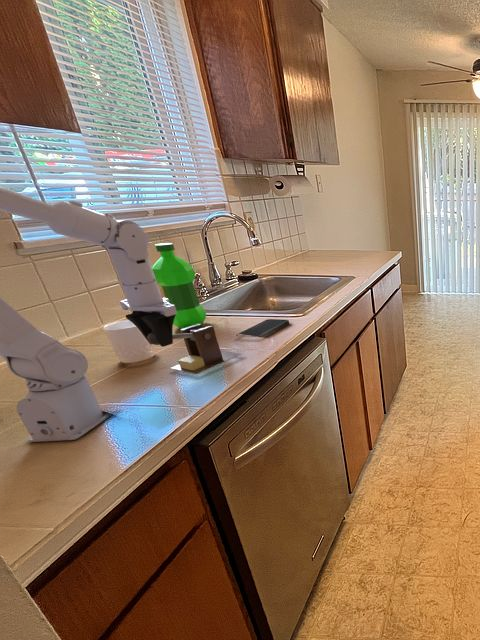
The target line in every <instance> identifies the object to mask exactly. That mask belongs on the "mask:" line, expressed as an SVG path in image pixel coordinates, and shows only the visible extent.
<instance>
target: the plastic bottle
mask: <svg viewBox="0 0 480 640" xmlns="http://www.w3.org/2000/svg"><path fill="white" fill-rule="evenodd" d="M154 246H155V249H156V252H158V253H159V254H160V258H159V259H157V260H156V262H155V263H154V264H153V265H152V266H151V267H152V270H153V272H154V275H155V278H156V281H157V284H158V286H160V287H161V288H162V289H161V290H162V291H163V294H164V298H168V299H169V302H168V303H169V304H172V305H175V308H176V311H177V314H176V316H175V318H174V321H173V326H175V327H176V328H180V329H184V328H187V327H190V326H193V325H196V324H201V325H202V324H203V323H204V322H205V321H206V319H207V312H206V310H205V308H204V307H203V305H201V304H200V301H199V297H198V295H197V292H196V289H195V286H194V283H193V282H194V280H195V279H196V272H195V269H194V267H193V266H192V265H191V264H190V263H189V262H188V261H186V260H184V259H183V258H181V257H178V256H177V255H175V253H174V251H175V250H176V248H175V246H174V243H173V242H172V243H171V242H164V243H155V244H154Z"/></svg>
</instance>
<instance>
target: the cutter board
mask: <svg viewBox="0 0 480 640" xmlns="http://www.w3.org/2000/svg"><path fill="white" fill-rule="evenodd" d="M195 329H198V330H195ZM190 330H195V331H193V332H192V333H193V336H194V339H195V341H194V340H190V338H183V339H182V340H183V341H184V345H185V348H186V350H187V354H188V356H193V355H194V356H199V357H201V358H203V360H204V363H205V366H203V367H200V368H198V369H196V370H189V369H184V368H180V365H179V364H177V365H174V366H172V367H171V369H173V370H176V371H181V372H186V373H191V374H195V375H196V374H197V375H198V374H200V373H202V372H205V371H207V370H209V369H211V368H213V367H216V366H218V365H221V364H223V363H225V362H227V361H229V360H232V359H235V358H237V357H239V356H241V355H242V353H239V352H234V351H228V350H223V349H221V348H220V344H219V342H218V339H217V334H216V332H215V328H214V326H213V325H208V326H205V327H203V326H202V324H196V325H193V326H190V327H187V328H184V329H182V328H180V334H182V333H190Z"/></svg>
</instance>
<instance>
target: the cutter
mask: <svg viewBox="0 0 480 640" xmlns="http://www.w3.org/2000/svg"><path fill="white" fill-rule="evenodd" d="M195 330H198V329H195ZM195 330H190V333H172V335H173V340H179V339H181V340H184V339H183V338H190V340H194V341H195V339H194V336H193V333H192V332H193V331H195ZM147 338H148V341H149V342H150V343H152V345H153V346H154V345H155V346H161V345H160V344H159V343H158V341H157V339H156V337H155V335H154V333H153V331H151V332H150V333H149V334H148V336H147Z"/></svg>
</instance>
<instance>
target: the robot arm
mask: <svg viewBox="0 0 480 640" xmlns="http://www.w3.org/2000/svg"><path fill="white" fill-rule="evenodd" d="M83 206H84V204H83V203H82V202H79V201H76V200H68V202H67V201H65V200H64V201H63V200H62V201H58V202H55V203H53V204H52V203H49V202H46V201H43V200H40V199H37V198H34V197H31V196H28V195H25V194H23V193H20V192H17V191H14V190H11V189H9V188H7V187H4V186H1V185H0V212H2V213H6V214H10V215H14V216H17V217H21V218H25V219H30V220H34V221H37V222H42V223H45V224H46V225H47V226H48V227H49V228H50V229H51V231H52V232H53V233H55V234H57V235H60V236H65V237H68V238H72V239H76V240H80V241H83V242H87V243H90V244H95V245H97V246H99V247H100V248H102V249H103V250H104V251H105V250H106V251H107V252H108V255H109V258H110V260H111V263H112V265H113V267H114V270H115V273H116V276H117V278H118V280H119V283H120V286H121V289H122V291H123V294H124V297H125V299H123V300H120V301H119V304H120V306H121V309H122V310H123V311H132V312H131V313H128V314H125V319H126V320H130V321H131V322H132V323H133V324H134V325H135V326H136V327H137V328H138V329H139V330H140V331H141V333H142V334H143V335H144V337H145V338H146V340H147V341H148V338H147V336H148V334H149V333H150V332H151V331H153V333H154V335H155V337H156V339H157V341H158V343H159V344H160V345H159V346H161V347H163V348H164V347H166V346H167V347H168V346H170V345H173V344H174V342H173V340H174V339H173V335H172V334H173V327H174V325H173V321H174V318H175V316H176V314H177V311H176V308H175V305H172V304H169V303H168V302H169V299H168V298H166V297H163V296H162V293H161V290H160V286H159V284H157V281H156V278H155V275H154V272H153V270H152V267H153V266H152V264H151V261H150V258H149V251H148V246H149V243H150V235H149V233H146V232H145V231H144V229H143V228H142V227H141V226H140V225H139V224H138V223H136V222H134V221H131V220H123V219H122V220H121V219H119V220H118V219H116V218H115V217H114V214H111V213H109V212H103V213H101V212H98V211H95V210H92V209H89V208H86V207H83ZM148 342H149V341H148ZM149 343H150V342H149ZM150 344H152V343H150ZM152 345H153V344H152ZM0 356H1V357H2V358H3V359H4V360H5V362H6V365H7V367H8V369H9V371H10V372H11V373H12V374H13V375H14V376H17V377H18V378H21V379H25V382H26V388H27V389H28V392H27V394H26V395H25V396H24V397H23V398H22V399H20V400H19V401H18V402H17V404H16V413H17V414H18V417H19V418H20V419H21V421H22V423H23V425H24V427H25V429H26V430H27V432H28V433H29V435H30V438H28V441H29V443H37V442H56V441H57V442H58V441H74V440H78V439H79V438H81V437H82V436H84V435H85V434H87V433H88V432H90V431H91V430H92V429H94V428H96V427H98V426H99V425H100V424H101V423H103V422H104V421H106V420H107V419H108V418H111V416H113V415H114V413H111V412H107V411H104V410H102V407H101V406H100V403H99V401H98V399H97V397H96V395H95V393H94V391H93V389H92V387H91V384H90V383H89V380H88V378H87V377H86V373H87V371H88V368H89V363H88V359H87V357H86V356H85V354H84V353H82V352H81V351H79V350H78V349H76V348H75V349H74V348H71V347H68V346H66V345H64V344H63V343H62V342H61V341H59V340H58V339H57V338H55V337H53V336H50V335H49V334H47V333H45V332H43V331H41V330H39V329H37V328H36V327H35V326H34V325H33V324H32V323H31V322H30V321H28V320H27V319H26V318H25V317H24V316H23V315H22V314H21V313H19V312H18V311H17V310H16V309H14V307H12V306H11V305H10V304H9V303H8V302H6V301H5V299H3V298H2V297H1V296H0Z"/></svg>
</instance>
